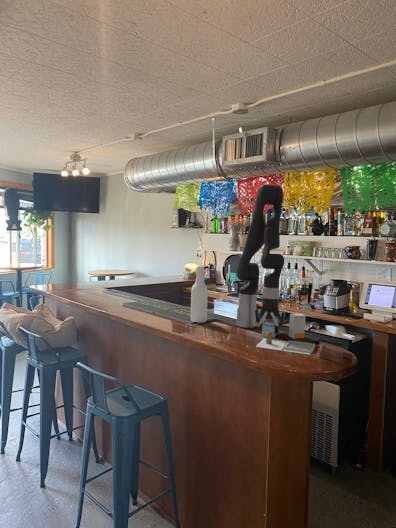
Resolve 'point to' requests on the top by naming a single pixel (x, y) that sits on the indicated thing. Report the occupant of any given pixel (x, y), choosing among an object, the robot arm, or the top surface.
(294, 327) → the skincare box
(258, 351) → the top surface
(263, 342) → the board
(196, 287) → the alcohol
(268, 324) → the blue-grey block
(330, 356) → the top surface
